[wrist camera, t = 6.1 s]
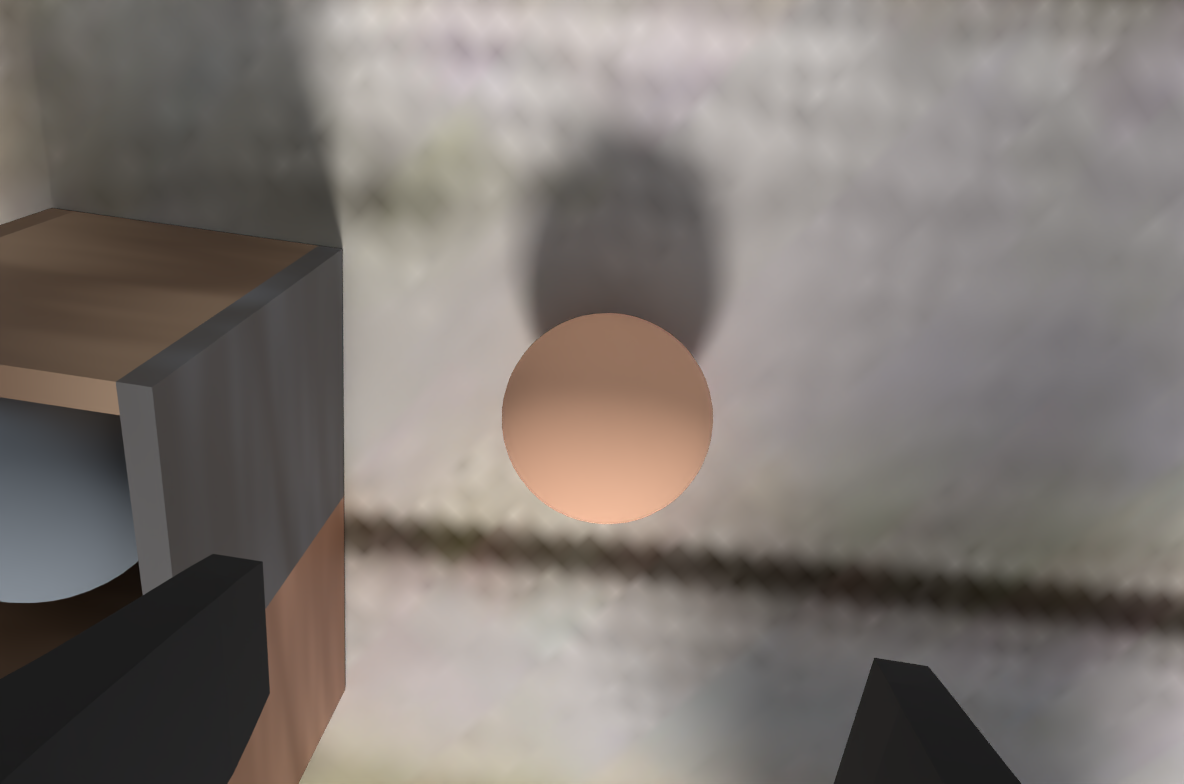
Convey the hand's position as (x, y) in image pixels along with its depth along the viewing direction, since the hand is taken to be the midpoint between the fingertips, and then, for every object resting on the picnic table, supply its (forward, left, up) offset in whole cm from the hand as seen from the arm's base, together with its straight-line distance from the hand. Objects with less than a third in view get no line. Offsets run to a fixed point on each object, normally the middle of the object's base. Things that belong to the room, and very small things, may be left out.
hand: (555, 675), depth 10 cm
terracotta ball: (0, 0, -9) cm, 9 cm away
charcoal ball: (+9, +2, -4) cm, 10 cm away
